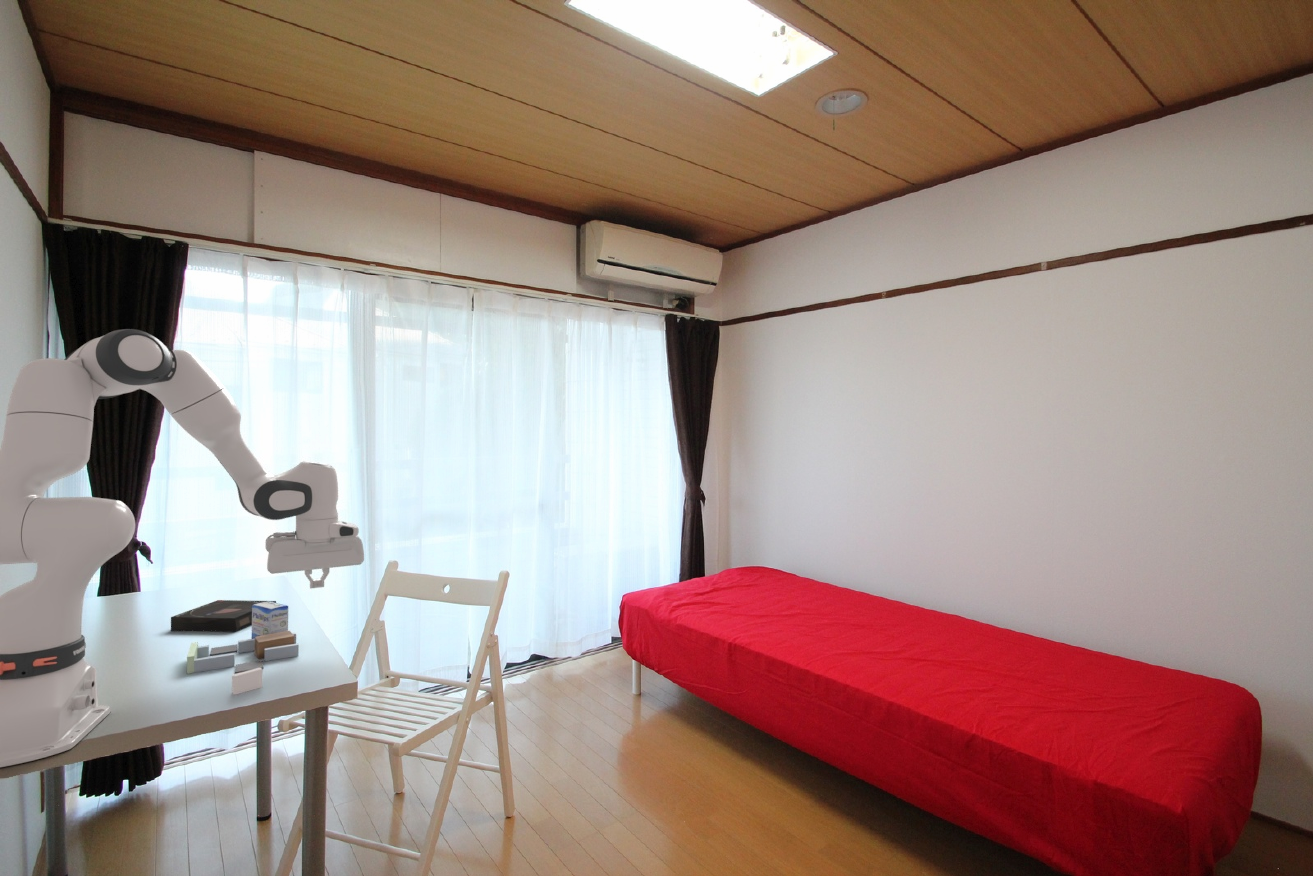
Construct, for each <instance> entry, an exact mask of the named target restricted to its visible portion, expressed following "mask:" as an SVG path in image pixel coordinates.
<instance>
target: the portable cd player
mask: <svg viewBox="0 0 1313 876" xmlns="http://www.w3.org/2000/svg"><path fill="white" fill-rule="evenodd" d="M262 602H274V603H277V601H276V600H237V599H235V600H233V599H230V600H229V599H228V600H227V599H218V600H214V601H212V602H208V603H205V604H203V605H200V606H198V607H195V608H193V609H189V610H187V611H184V612H182V613H178V614H176V615H173V616H170V632H196V633H197V632H199V633H200V632H203V633H204V632H205V633H207V632H208V633H209V632H211V633H213V632H214V633H218V632H219V633H237V632H239V631H241V630H243V629H245V628H247V627H250V626H252V605H254V604H258V603H262Z"/></svg>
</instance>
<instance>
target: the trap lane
mask: <svg viewBox="0 0 1313 876" xmlns="http://www.w3.org/2000/svg"><path fill="white" fill-rule="evenodd" d="M291 633H292V634H293V635H294V644H291V645H284V646H278V647H271V648H265V652H264V658H263V659H264V660H263V659H260V660H256V661H250V662H243V663H237V664H235V663H236V662H235V660H236V658H235V657H236V655H235V653H238V654H241V653H247V652H255V638H254V639H251V638H247V639H241V640H238V641H237V642H238V643H236V644H231V645H230V644H229V645H224V646H222V645H221V646H216V647H215V646H214V647H211V648H210V644H205V645H199V643H198V641H196V642H191V643H190V646H189V649H188V653H187V657H186V674H188V675H189V674H193V673H194V674H195V673H200V672H208V671H212V670H219V669H224V668H232V667H235V671H234V674H237V673H241V672H245V671H249V670H253V669H256V668H262V669H264V662H268V661H269V662H270V661H275V660H281V659H287V658H293V657H299V643H297V632H291Z"/></svg>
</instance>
